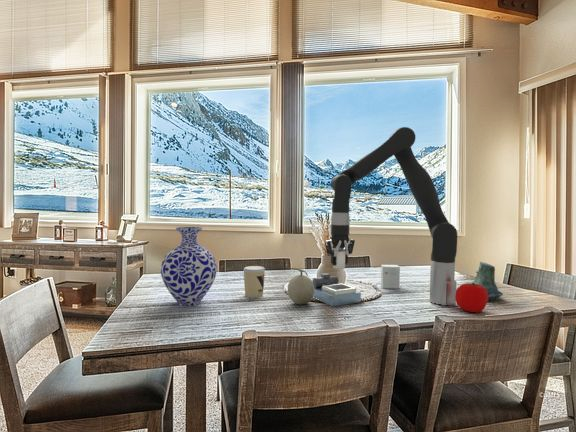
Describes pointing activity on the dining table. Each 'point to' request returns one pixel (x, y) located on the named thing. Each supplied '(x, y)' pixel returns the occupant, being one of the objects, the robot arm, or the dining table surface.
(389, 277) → the small box
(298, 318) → the dining table surface
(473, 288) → the tomato
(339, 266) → the pump module
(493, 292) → the tree stump
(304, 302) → the fruit
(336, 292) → the motor housing
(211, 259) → the vase
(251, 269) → the coffee cup
